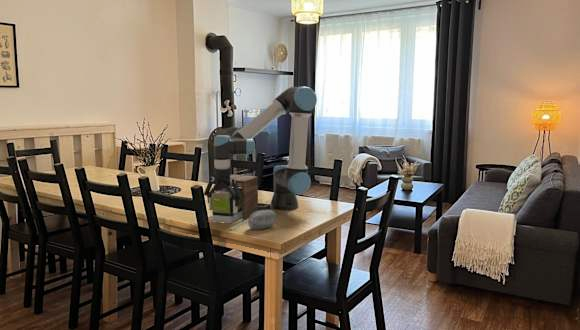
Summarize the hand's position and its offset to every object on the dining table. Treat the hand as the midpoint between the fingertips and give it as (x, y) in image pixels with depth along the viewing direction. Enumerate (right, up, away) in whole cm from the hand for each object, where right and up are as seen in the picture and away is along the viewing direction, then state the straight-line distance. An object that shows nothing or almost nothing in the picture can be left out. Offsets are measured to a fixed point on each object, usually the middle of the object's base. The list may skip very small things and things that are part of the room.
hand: (223, 211), depth 217 cm
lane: (-1, -5, -2) cm, 6 cm away
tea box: (+2, -5, +5) cm, 7 cm away
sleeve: (+5, -3, +13) cm, 14 cm away
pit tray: (+10, -1, +24) cm, 26 cm away
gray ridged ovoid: (+20, -7, -10) cm, 23 cm away
